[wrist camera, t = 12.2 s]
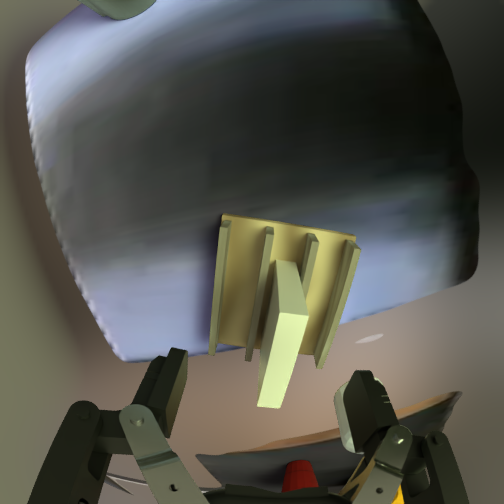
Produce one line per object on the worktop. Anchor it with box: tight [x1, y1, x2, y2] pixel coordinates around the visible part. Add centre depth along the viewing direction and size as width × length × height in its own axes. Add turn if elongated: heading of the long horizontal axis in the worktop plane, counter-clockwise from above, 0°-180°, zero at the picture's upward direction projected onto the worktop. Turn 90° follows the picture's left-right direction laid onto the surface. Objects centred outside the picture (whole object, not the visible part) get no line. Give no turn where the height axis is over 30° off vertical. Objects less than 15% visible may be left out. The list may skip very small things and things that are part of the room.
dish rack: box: [208, 213, 361, 369], centre depth 33 cm, size 16×18×4 cm
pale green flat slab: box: [257, 260, 309, 408], centre depth 29 cm, size 2×12×12 cm, turn 172°
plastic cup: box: [282, 460, 319, 493], centre depth 45 cm, size 11×11×12 cm
